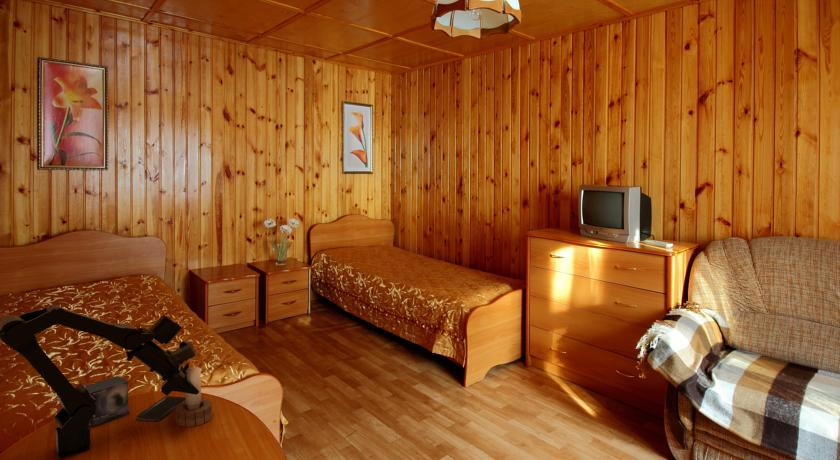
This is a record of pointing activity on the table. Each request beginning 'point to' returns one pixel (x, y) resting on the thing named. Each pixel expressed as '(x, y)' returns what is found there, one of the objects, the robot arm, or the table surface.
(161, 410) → the phone
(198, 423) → the segmented block ring
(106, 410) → the small box
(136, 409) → the table surface
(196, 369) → the tapered rounded pillar
